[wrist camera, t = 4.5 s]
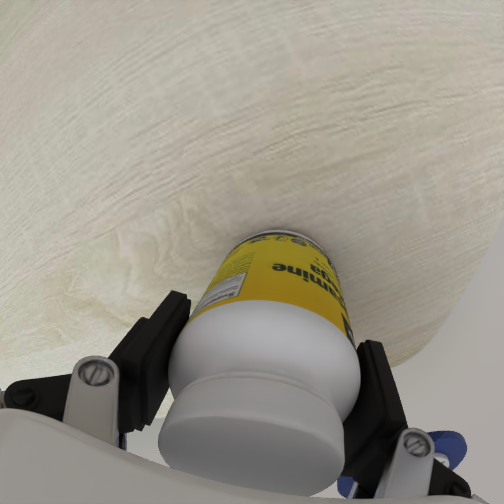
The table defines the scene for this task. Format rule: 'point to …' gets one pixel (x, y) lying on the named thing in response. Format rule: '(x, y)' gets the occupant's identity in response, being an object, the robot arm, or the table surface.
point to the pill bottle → (264, 371)
